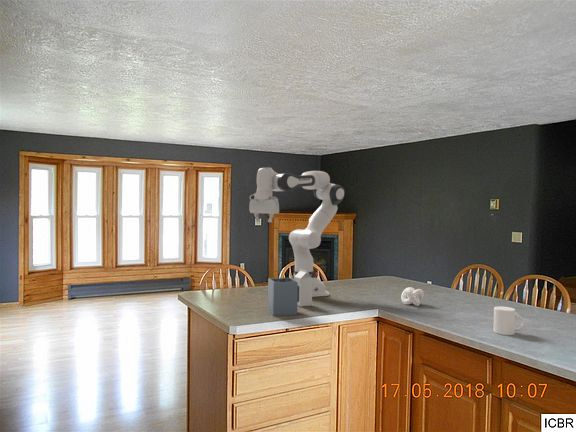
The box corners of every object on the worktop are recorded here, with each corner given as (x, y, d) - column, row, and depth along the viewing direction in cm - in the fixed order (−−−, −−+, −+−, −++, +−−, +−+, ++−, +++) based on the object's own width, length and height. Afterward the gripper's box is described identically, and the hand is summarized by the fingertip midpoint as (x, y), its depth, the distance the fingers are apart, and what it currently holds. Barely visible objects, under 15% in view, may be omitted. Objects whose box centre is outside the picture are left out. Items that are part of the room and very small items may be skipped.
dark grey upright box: (295, 308, 229) (295, 277, 228) (301, 314, 217) (302, 281, 217) (267, 310, 225) (268, 278, 225) (273, 315, 213) (273, 282, 213)
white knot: (416, 302, 251) (416, 286, 250) (429, 306, 239) (429, 289, 239) (398, 303, 247) (398, 286, 247) (410, 307, 236) (411, 290, 236)
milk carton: (300, 306, 233) (300, 270, 233) (293, 304, 240) (294, 269, 239) (311, 305, 237) (312, 270, 236) (305, 303, 243) (305, 268, 243)
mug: (491, 305, 194) (521, 307, 191) (491, 329, 194) (521, 331, 191) (496, 309, 186) (527, 311, 183) (495, 334, 186) (527, 336, 183)
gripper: (282, 196, 239) (281, 222, 239) (255, 196, 253) (255, 221, 253) (273, 196, 235) (273, 222, 235) (247, 196, 248) (247, 221, 248)
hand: (263, 221), depth 244 cm, fingers open, 8 cm apart
